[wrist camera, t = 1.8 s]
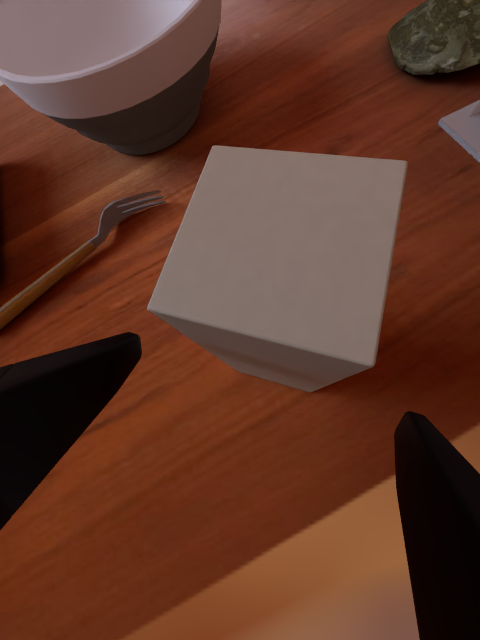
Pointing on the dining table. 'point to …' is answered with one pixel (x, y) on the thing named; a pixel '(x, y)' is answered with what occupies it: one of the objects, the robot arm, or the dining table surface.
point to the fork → (76, 254)
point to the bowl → (111, 65)
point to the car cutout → (465, 127)
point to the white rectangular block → (285, 262)
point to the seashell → (437, 37)
